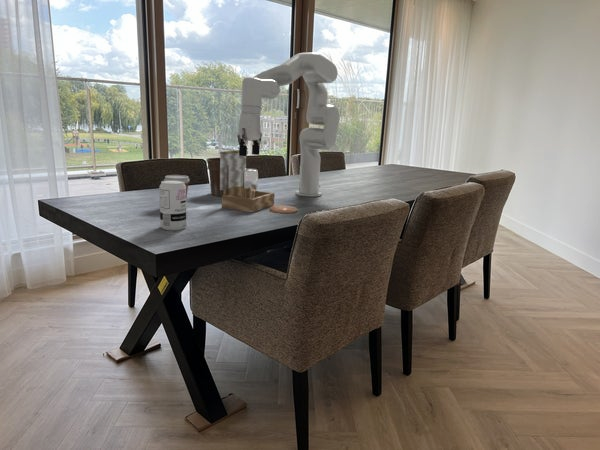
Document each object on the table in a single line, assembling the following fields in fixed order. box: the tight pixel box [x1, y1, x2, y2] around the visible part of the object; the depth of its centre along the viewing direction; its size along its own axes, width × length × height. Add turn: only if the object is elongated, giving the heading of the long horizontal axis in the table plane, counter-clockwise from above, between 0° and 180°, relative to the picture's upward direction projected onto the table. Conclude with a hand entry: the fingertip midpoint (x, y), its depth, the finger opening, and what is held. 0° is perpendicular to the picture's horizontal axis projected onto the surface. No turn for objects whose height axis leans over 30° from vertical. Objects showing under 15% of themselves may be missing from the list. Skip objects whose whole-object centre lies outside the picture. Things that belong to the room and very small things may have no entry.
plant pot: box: [206, 157, 238, 197], centre depth 204 cm, size 16×16×16 cm
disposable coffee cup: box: [163, 174, 190, 200], centre depth 174 cm, size 10×10×12 cm
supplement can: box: [159, 180, 188, 231], centre depth 144 cm, size 8×8×15 cm
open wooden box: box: [219, 149, 275, 213], centre depth 182 cm, size 18×15×22 cm
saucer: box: [269, 204, 298, 214], centre depth 180 cm, size 11×11×1 cm
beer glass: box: [241, 168, 259, 199], centre depth 182 cm, size 7×7×15 cm
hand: (249, 155), depth 179 cm, fingers open, 9 cm apart
